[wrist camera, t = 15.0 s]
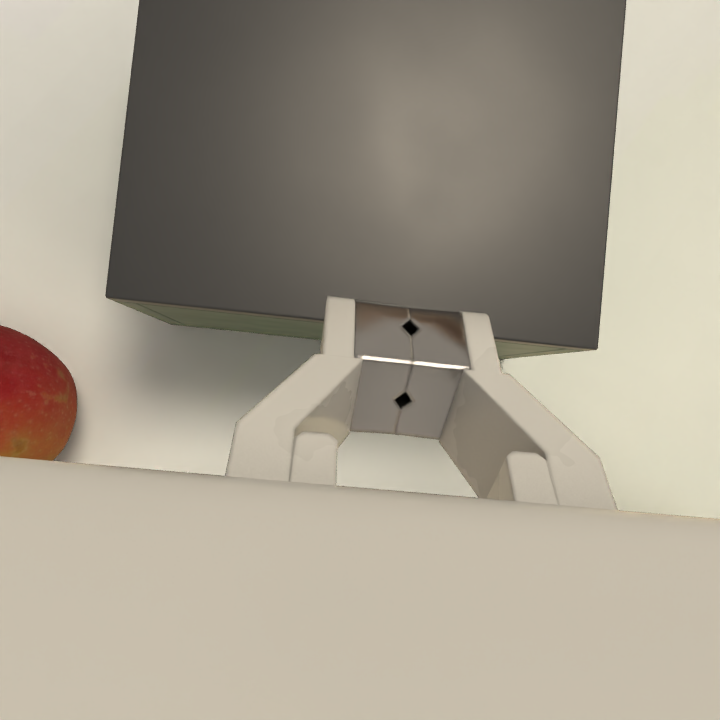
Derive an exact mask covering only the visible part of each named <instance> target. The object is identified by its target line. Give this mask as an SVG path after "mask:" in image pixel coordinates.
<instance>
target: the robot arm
mask: <svg viewBox="0 0 720 720" xmlns="http://www.w3.org/2000/svg"><path fill="white" fill-rule="evenodd" d="M350 431H354V432H369V433H383V434H396V435H404V436H413V437H421V438H429V439H437V440H439V443H440V444H441V445H442V447H443V448H444V450H445V451H446V452H447V454H448V455H449V457H450V458H451V459H452V461H453V462H454V464H455V465H456V466H457V468H458V469H459V471H460V472H461V473H462V475H463V476H464V478H465V479H466V481H467V482H468V483H469V485H470V486H471V488H472V489H473V490H474V492H475V493H476V495H477V496H478V497H479V498H474V497H462V496H450V495H439V494H427V493H416V492H404V491H393V490H381V489H370V488H358V487H346V486H336V476H337V449H338V447H339V446H340V445H341V443H342V442H343V441H344V440H345V438H346V437H347V436H348V435H349V432H350ZM0 720H720V519H714V518H702V517H690V516H678V515H666V514H654V513H642V512H631V511H620V510H617V507H616V504H615V501H614V498H613V495H612V492H611V489H610V486H609V483H608V480H607V477H606V474H605V471H604V468H603V465H602V463H601V460H600V457H599V456H597V455H596V454H595V453H594V452H593V451H592V450H591V449H590V448H589V447H588V446H587V445H586V444H584V443H583V442H582V441H581V440H580V439H579V438H578V437H577V436H576V435H575V434H574V433H573V432H572V431H570V430H569V429H568V428H567V427H566V426H565V425H564V424H563V423H562V422H561V421H560V420H559V419H558V418H556V417H555V416H554V415H553V414H552V413H551V412H550V411H549V410H548V409H547V408H546V407H545V406H544V405H542V404H541V403H540V402H539V401H538V400H537V399H536V398H535V397H534V396H533V395H532V394H531V393H529V392H528V391H527V390H526V389H525V388H524V387H523V386H522V385H521V384H520V383H519V382H518V381H517V380H515V379H514V378H513V377H512V376H511V375H510V374H505V373H502V371H501V366H500V362H499V358H498V353H497V349H496V345H495V341H494V336H493V332H492V328H491V323H490V319H489V316H488V315H487V314H485V313H474V312H462V311H460V312H453V311H444V310H435V309H425V308H416V307H408V306H403V305H395V304H388V303H380V302H373V301H366V300H358V299H355V301H354V299H349V298H341V297H333V296H328V297H327V301H326V309H325V317H324V324H323V332H322V340H321V348H320V354H314V355H313V356H311V357H310V358H309V359H308V360H307V361H306V362H305V363H303V364H302V365H301V366H300V367H299V368H298V369H297V370H296V371H294V372H293V373H292V374H291V375H290V376H289V377H288V378H286V379H285V380H284V381H283V382H282V383H281V384H280V385H278V386H277V387H276V388H275V389H274V390H273V391H272V392H270V393H269V394H268V395H267V396H266V397H265V398H264V399H262V400H261V401H260V402H259V403H258V404H257V405H256V406H254V407H253V408H252V409H251V410H250V411H249V412H248V413H246V414H245V415H244V416H243V417H242V418H241V419H240V420H238V421H237V422H236V426H235V430H234V435H233V440H232V445H231V449H230V454H229V459H228V464H227V468H226V473H225V476H220V475H209V474H197V473H186V472H174V471H163V470H151V469H140V468H128V467H117V466H105V465H94V464H82V463H71V462H59V461H48V460H37V459H25V458H14V457H3V456H0Z"/></svg>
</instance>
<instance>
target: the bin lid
mask: <svg viewBox="0 0 720 720" xmlns="http://www.w3.org/2000/svg"><path fill="white" fill-rule="evenodd" d="M625 10H626V0H139V8H138V17H137V26H136V34H135V43H134V52H133V60H132V69H131V78H130V86H129V95H128V104H127V112H126V121H125V130H124V139H123V147H122V156H121V165H120V173H119V182H118V191H117V199H116V208H115V217H114V225H113V234H112V243H111V252H110V260H109V269H108V278H107V286H106V295H105V296H106V298H108V299H111V300H113V301H120V302H129V303H139V304H148V305H158V306H167V307H176V308H186V309H195V310H205V311H214V312H224V313H233V314H243V315H252V316H261V317H271V318H280V319H290V320H299V321H309V322H318V323H324V317H325V309H326V301H327V297H328V296H333V297H341V298H349V299H354V301H355V299H358V300H366V301H373V302H380V303H388V304H395V305H403V306H408V307H416V308H425V309H435V310H444V311H453V312H460V311H462V312H474V313H485V314H487V315H488V316H489V319H490V323H491V328H492V332H493V336H494V341H498V342H507V343H517V344H526V345H536V346H545V347H554V348H564V349H573V350H583V351H590V350H597V348H598V338H599V326H600V314H601V302H602V290H603V278H604V265H605V253H606V241H607V229H608V217H609V205H610V192H611V180H612V168H613V156H614V144H615V132H616V119H617V107H618V95H619V83H620V71H621V59H622V46H623V34H624V22H625Z"/></svg>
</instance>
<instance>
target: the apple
mask: <svg viewBox="0 0 720 720" xmlns="http://www.w3.org/2000/svg"><path fill="white" fill-rule="evenodd" d="M76 412H77V393H76V387H75V383H74V380H73V378H72V376H71V374H70V372H69V370H68V369H67V368H66V366H65V365H64V364H63V363H62V362H61V361H60V360H59V359H58V358H57V357H56V356H55V355H54V354H53V353H52V352H51V351H50V350H48V349H47V348H45V347H44V346H43V345H41V344H40V343H38V342H37V341H35V340H34V339H32V338H30V337H28V336H27V335H24V334H22V333H20V332H18V331H16V330H13V329H11V328H8V327H4V326H1V325H0V456H3V457H14V458H25V459H37V460H48V461H53V460H54V459H55V458H56V457H57V456H58V455H59V453H60V452H61V451H62V450H63V448H64V447H65V445H66V443H67V441H68V439H69V437H70V435H71V432H72V429H73V426H74V422H75V418H76Z"/></svg>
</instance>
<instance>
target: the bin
mask: <svg viewBox="0 0 720 720" xmlns="http://www.w3.org/2000/svg"><path fill="white" fill-rule="evenodd" d="M115 302H118V303H120V304H123V305H125V306H127V307H130V308H132V309H135V310H137V311H140V312H142V313H145V314H147V315H150V316H152V317H155V318H157V319H159V320H162V321H164V322H167V323H169V324H172V325H181V326H191V327H201V328H210V329H220V330H230V331H239V332H249V333H258V334H268V335H278V336H287V337H297V338H307V339H316V340H322V332H323V324H324V323H318V322H309V321H299V320H290V319H280V318H271V317H261V316H252V315H243V314H233V313H224V312H214V311H205V310H195V309H186V308H176V307H167V306H158V305H148V304H139V303H129V302H120V301H115ZM495 345H496V349H497V353H498V358H500V359H509V358H518V357H528V356H538V355H548V354H559V353H569V352H579V351H583V350H573V349H564V348H554V347H545V346H536V345H526V344H517V343H507V342H498V341H495Z"/></svg>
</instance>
